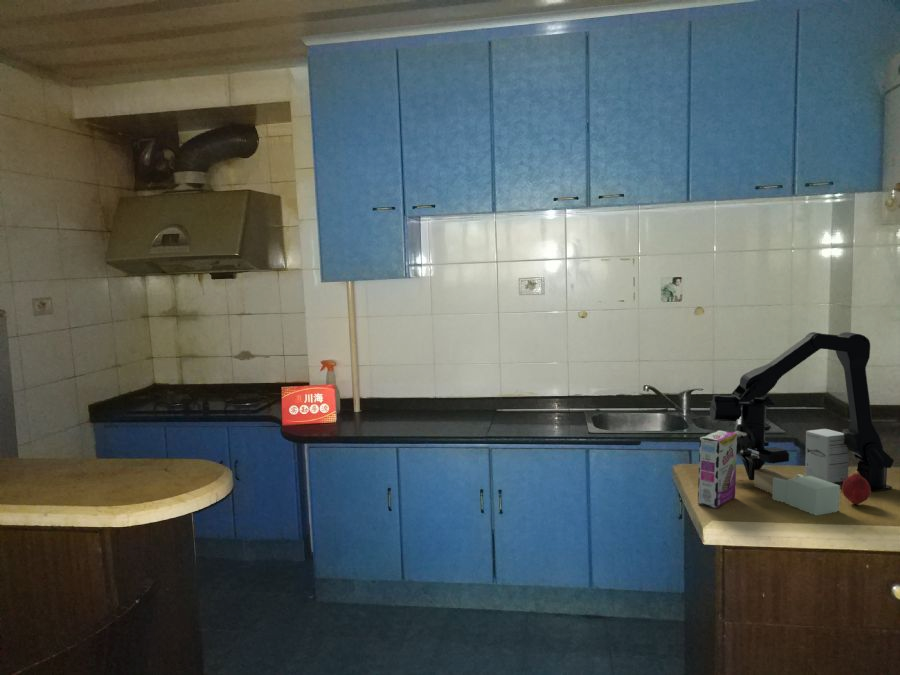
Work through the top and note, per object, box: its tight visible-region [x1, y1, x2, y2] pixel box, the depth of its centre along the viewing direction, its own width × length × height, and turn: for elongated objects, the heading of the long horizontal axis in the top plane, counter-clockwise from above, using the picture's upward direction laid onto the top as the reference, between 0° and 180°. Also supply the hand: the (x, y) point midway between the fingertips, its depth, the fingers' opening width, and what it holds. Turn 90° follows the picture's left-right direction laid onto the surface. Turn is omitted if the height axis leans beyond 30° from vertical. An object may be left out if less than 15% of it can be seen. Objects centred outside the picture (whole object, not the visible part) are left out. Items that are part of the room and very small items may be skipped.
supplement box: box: [804, 428, 850, 484], centre depth 171 cm, size 7×7×13 cm
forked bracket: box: [771, 473, 841, 516], centre depth 152 cm, size 9×12×6 cm
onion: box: [841, 470, 872, 505], centre depth 152 cm, size 6×6×8 cm
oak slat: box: [753, 468, 793, 494], centre depth 161 cm, size 4×12×4 cm, turn 17°
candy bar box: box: [697, 429, 738, 509], centre depth 156 cm, size 11×5×16 cm, turn 134°
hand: (751, 480), depth 168 cm, fingers closed
